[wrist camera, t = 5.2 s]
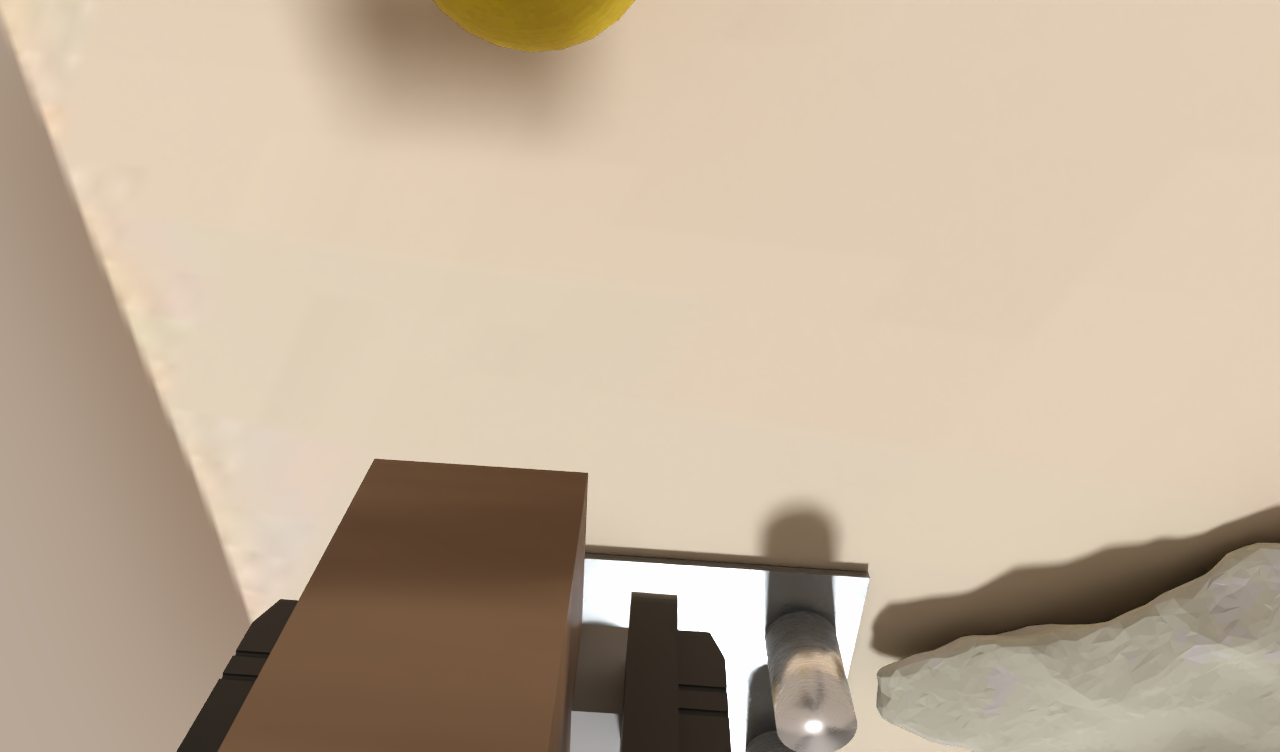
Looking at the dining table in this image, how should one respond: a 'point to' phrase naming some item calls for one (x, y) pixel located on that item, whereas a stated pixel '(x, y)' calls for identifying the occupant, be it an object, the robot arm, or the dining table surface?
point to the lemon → (534, 20)
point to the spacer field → (755, 639)
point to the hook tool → (444, 624)
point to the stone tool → (1112, 675)
